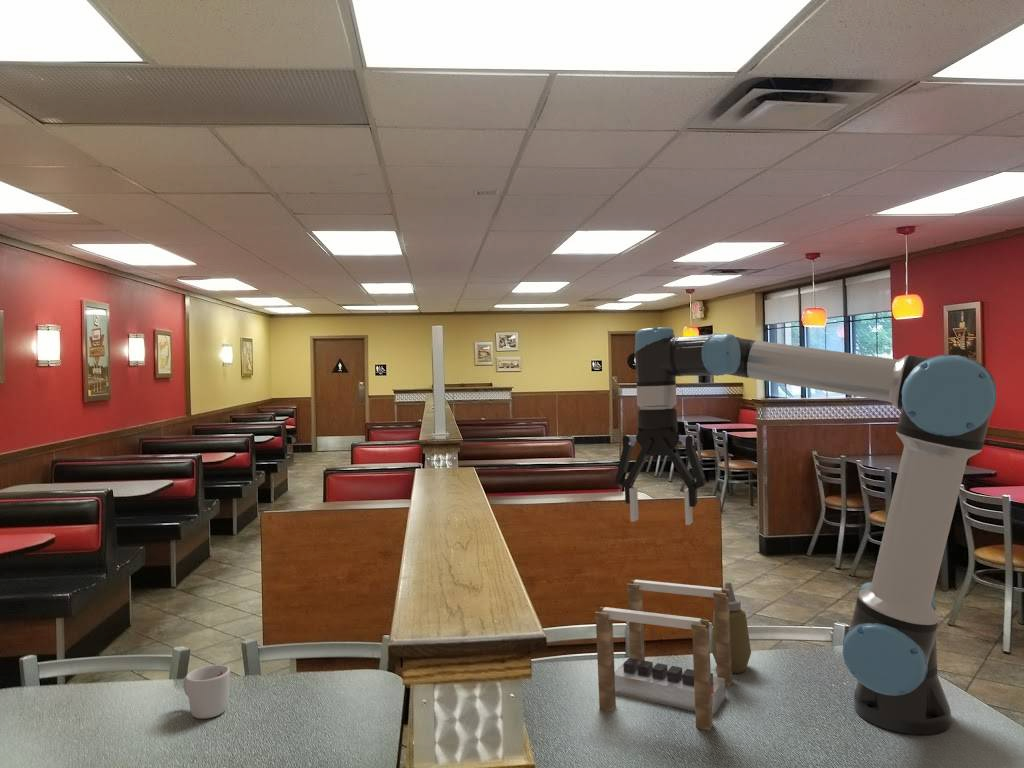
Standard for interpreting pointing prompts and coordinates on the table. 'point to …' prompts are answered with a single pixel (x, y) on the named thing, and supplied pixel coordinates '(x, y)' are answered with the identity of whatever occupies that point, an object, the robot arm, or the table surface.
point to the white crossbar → (677, 588)
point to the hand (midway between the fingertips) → (661, 521)
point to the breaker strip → (663, 684)
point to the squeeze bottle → (735, 634)
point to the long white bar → (651, 618)
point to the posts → (637, 652)
